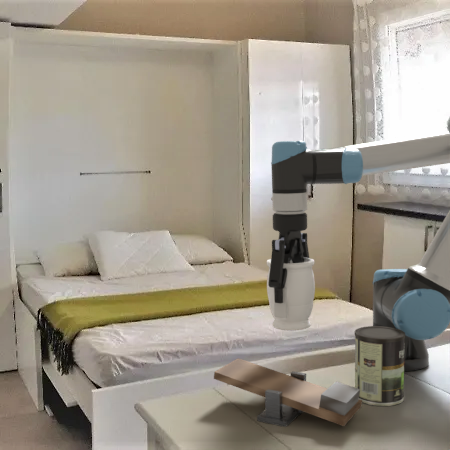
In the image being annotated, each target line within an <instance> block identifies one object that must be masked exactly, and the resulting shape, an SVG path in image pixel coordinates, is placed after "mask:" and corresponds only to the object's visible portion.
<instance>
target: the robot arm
mask: <svg viewBox="0 0 450 450" xmlns="http://www.w3.org/2000/svg"><path fill="white" fill-rule="evenodd" d="M270 164H271V187H272V188H271V189H272V190H271V191H272V195H271V198H270V199H271V201H272V211H274V213H273V214H272V229H273V231H276V232H278V233H279V234H278V239H272V241H271V258H270V259H271V265H270V274H269V287H273V288H274V316H275V317H279V318H287V288H285V283H286V278H287V269H286V268H283V264H284V263H285V264H287V263H290V260H291V259H292V262H293V263H302V262H304V257H305V258H310V253H309V245H308V233H307V232H302V231H306V230H307V228H308V214H307V213H306V211H307V210H308V189H307V186H308V185H324V184H325V185H328V184H329V185H334V184H341V185H342V184H344V185H347V184H355V183H356V184H357V183H359V182H360V181H361V179H362V177H364V176H370V175H377V174H384V173H389V172H390V173H391V172H397V171H403V170H410V169H411V170H413V169H419V168H424V167H431V166H432V167H433V166H438V165H445V164H446V165H447V164H450V134H449V131H448V130H446V131H439V132H432V133H425V134H419V135H411V136H404V137H399V138H398V137H397V138H393V139H386V140H379V141H378V140H377V141H371V142H364V143H358V144H357V143H356V144H352V145H351V144H350V145H346V146H340V147H339V146H338V147H331V148H320V149H308V147H307V143H306V141H304V140H284V141H276V142H274V143H273V144H272V146H271V162H270ZM449 324H450V209H449V210H448V213H447V214H446V216H445V217H444V219H443V221H442V222H441V224H440V225H439V228H438V229H437V232H436V233H435V235H434V237H433V238H432V240H431V242H430V244H429V245H428V247H427V249H426V251H425V253H424V254H423V256H422V257H421V260H420V261H419V262H418V263H417V264H414V265H411V266H408V268H390V269H389V268H388V269H387V268H385V269H384V268H383V269H377V270H376V271H375V272H374V273H373V281H372V326H384V327H392V328H396V329H399V330H402V331H403V332H405V342H404V372H409V371H410V372H411V371H419V370H422V369H425V368H427V367H428V366H429V357H430V355H429V352H428V351H429V350H428V349H427V345H426V342H425V341H428V340H431V339H434V338H438V337H439V336H440V335H442V333H444V332H445V331H446V329H447V328H448V327H449Z"/></svg>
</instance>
